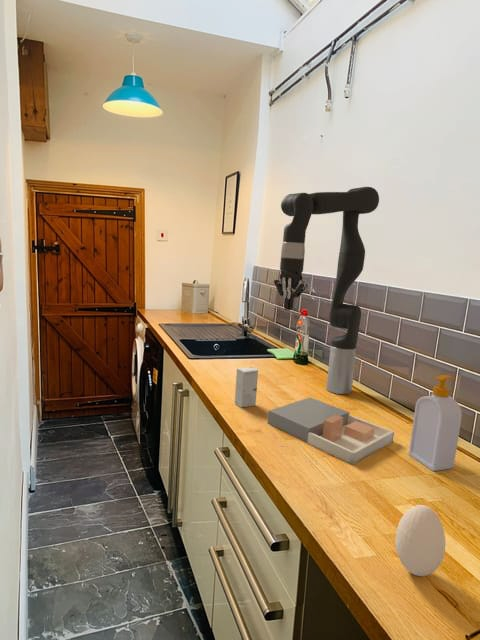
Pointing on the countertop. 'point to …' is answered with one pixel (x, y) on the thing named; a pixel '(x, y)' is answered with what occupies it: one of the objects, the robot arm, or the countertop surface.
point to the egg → (420, 540)
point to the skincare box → (246, 387)
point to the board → (304, 417)
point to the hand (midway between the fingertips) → (288, 309)
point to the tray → (353, 443)
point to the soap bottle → (436, 428)
